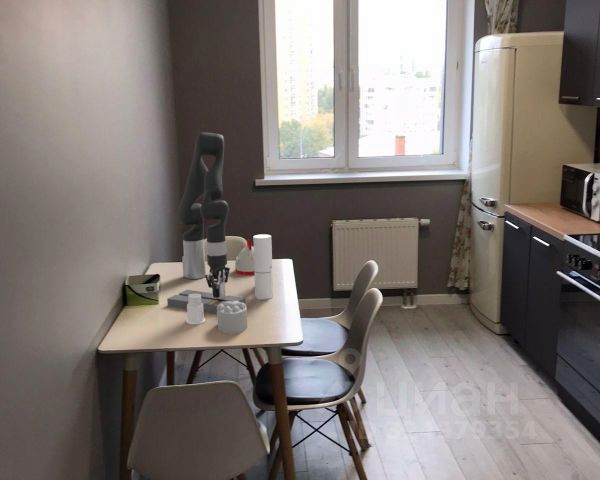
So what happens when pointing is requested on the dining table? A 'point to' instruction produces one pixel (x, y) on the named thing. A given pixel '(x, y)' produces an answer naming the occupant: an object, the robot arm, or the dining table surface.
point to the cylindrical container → (263, 266)
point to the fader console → (206, 299)
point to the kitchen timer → (245, 261)
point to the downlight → (195, 309)
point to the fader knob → (220, 291)
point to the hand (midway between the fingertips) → (218, 295)
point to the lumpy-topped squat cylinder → (232, 317)
